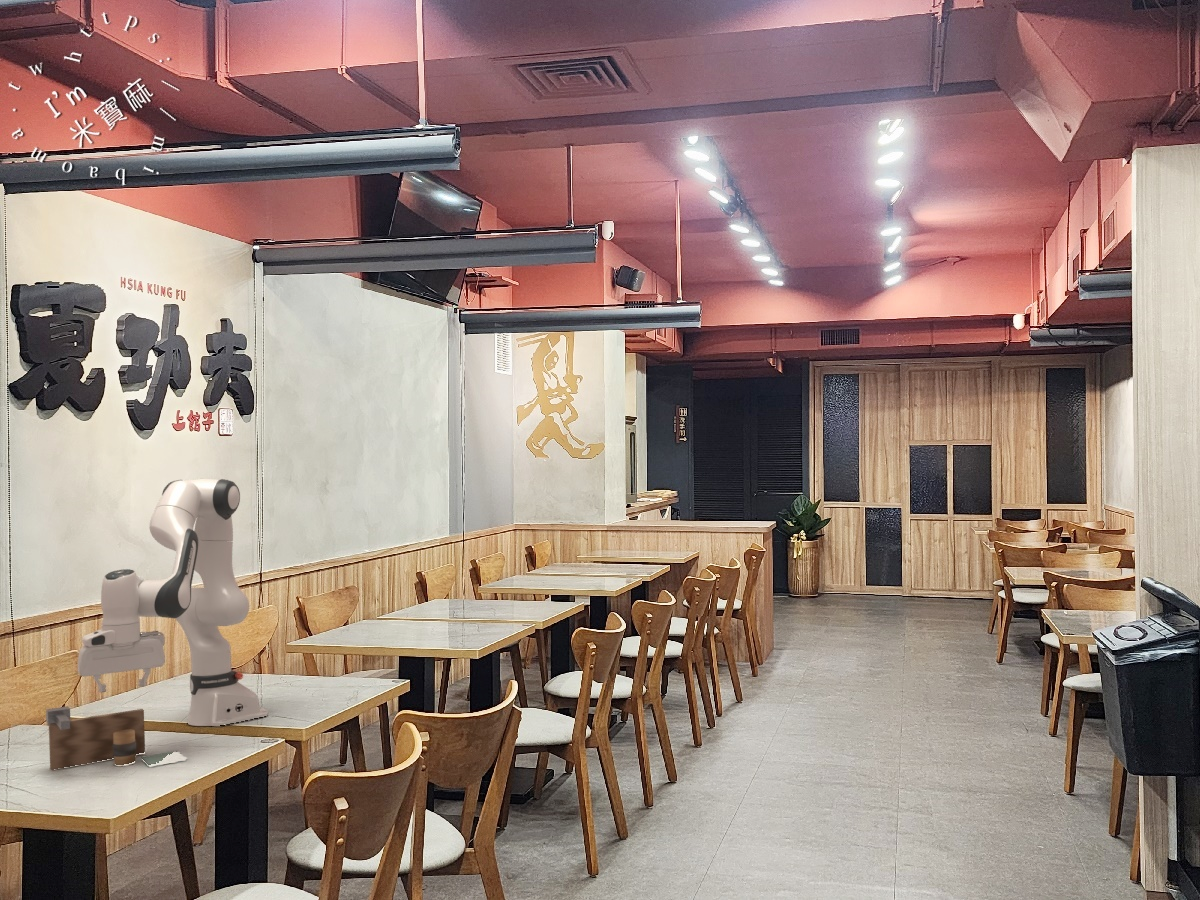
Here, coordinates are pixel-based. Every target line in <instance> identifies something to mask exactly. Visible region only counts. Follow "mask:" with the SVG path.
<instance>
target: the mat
mask: <svg viewBox="0 0 1200 900" xmlns="http://www.w3.org/2000/svg"><path fill="white" fill-rule="evenodd" d="M174 751H176V752H177V751H178V750H173V751H168V752H163V753H157V754H152V755H151V754H150V755H145V756H141V757H140V758H142V759H143V760H144V761H145V762H146V763H147V764H148V765H151V764H156V762H157V763H159V761H162V760H163V758H165V757H166V756H167V755H168V754H169V755H170V754H172V753H173V752H174Z"/></svg>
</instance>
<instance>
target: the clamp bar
mask: <svg viewBox="0 0 1200 900" xmlns="http://www.w3.org/2000/svg"><path fill="white" fill-rule="evenodd" d="M70 720H71V708H70V707H69V706H62V707H53V708H48V709H47V708H46V709H45V722H46V723H47V725H49V724H52V723H56V724H57V726H58V727H59V728H60V729H61V730H64V729H70Z"/></svg>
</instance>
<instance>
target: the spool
mask: <svg viewBox="0 0 1200 900" xmlns="http://www.w3.org/2000/svg"><path fill="white" fill-rule="evenodd" d="M113 756H114V760H113V765H114V764H116V765H124V764H129V763H132V762H134V761H136V760H137V759H136V757H137V756H136V740H135V730H120V731H116V732H114V733H113ZM136 762H137V761H136Z"/></svg>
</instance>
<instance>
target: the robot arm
mask: <svg viewBox="0 0 1200 900" xmlns="http://www.w3.org/2000/svg"><path fill="white" fill-rule="evenodd" d="M240 502H241V492H240V488H239V486H238V485H237V484H236V482H234V481H232V480H229V479H226V478H225V479H223V478H222V479H215V478H195V479H194V478H193V479H185V480H183V479H178V480H173V481H170V482H169V483H168V484H167V485H166V486H165V487H164V488H163V490H162V493H161V497H160V498H159V500H158V502H157V504H156V506H155V508H154V510H153V513H152V516H151V517H150V520H149V521H150V522H149V531H150V534H151V536H152V538H153V539H154V540H155V541H156V542H157V543H158V544H159V545H161V546H163V547H164V548H166V549H169V550H172V551H174V552H176V553H175V558H174V561H173V562H174V563H173V568H172V573H171V575H170V576H169V577H167V578H164V579H144V578H141V577H139V576H137V573H136V571H135V569H130V568H129V569H128V568H126V569H124V568H123V569H118V570H113V571H110V572H108V573H106V574H105V575H104V577H103V579H102V583H101V584H102V585H101V591H100V592H101V593H100V595H101V597H100V600H101V601H100V605H101V606H100V608H101V611H102V620H101V621H102V622H101V629H98V630H95V631H93V632H91V633H88V634H85V635H83V636H82V638H81V640H82V645H83V646H82V647H81V648H80V649H79V652H78V656H77V657H78V658H77V673H78V674H79V676H81V677H82V678H83V677H92V676H93V677H92V679H93V680H94V681H95V683H96V684H97V686H98V693H100V694H101V693H106V692H107V684H106V683H102V682H101V681H100V679H101V678H102V675H107V674H108V675H109V674H114V673H122V672H123V673H124V672H130V671H138V670H142V672H143V673H144V674H143V675H142V678H141V679H140V678H139V679H138V686H139V688H144V687H147V680H148V678H149V677H150V674H151V669H155V668H161V667H163V666H164V665H165V663H166V658H165V657H166V656H165V649H164V646H165V644H166V641H165V640H166V638H165V634H164V633H163V632H160V631H159V630H152V631H141V622H140V621H141V620H140V617H141V618H142V617H144V618H166V619H167V618H168V619H175V621H176V622H177V623H178V624H179V625H180V627H181V628H182V630H183V632H184V634H185V636H186V639H187V642H188V646H189V649H190V651H189V652H190V662H191V663H190V666H191V669H190V670H191V674H190V675H189V676H190V677H189V678H190V679H189V691H190V694H191V697H190V699H191V700H190V707H189V713H188V719H187V722H186V724H187V723H188V725H190V726H194V727H211V726H212V727H221V726H220V725H224V724H229V723H234V724H237V723H236V722H239V723H242V722H241V721H244V722H246V721H245V720H248V721H251V720H250V719H253V720H255V719H254V718H258V719H260V718H259V717H263V718H265V717H264V716H266V717H268V716H267V715H269V712H268V710H267V709H266V708H265V707H262V706H261V705H260V700H259V696H258V695H257V694H256V692H254V691H252V690H251V689H250V688H248V687H246V686H245V685H244V684H242V683H240V682H239V681H240V680H242V679H243V678H244V674H243V673H242V672H241V671H235V670H232V652H231V651H232V649H231V644H230V642H229V641H228V640H227V639H226V638H225V637H224V636H223V635H222V633H221V632H220V629H219V627H228V626H233V625H238V624H241V623H243V622H244V621H245V619H246V618H247V616H248V614H249V611H250V602H249V599H248V596H247V595H246V594H245V593H244V592H243V591H242V590H241V588H240V586H239V585H238V583H237V580H236V578H235V573H234V569H233V546H234V545H233V544H234V543H233V541H234V530H233V529H234V528H233V527H234V526H233V518H232V517H233V514H235V512H236V511H237V510H238V507H239V506H240ZM194 572H196V573H197V574H198V575H199V576H200V579H201V580H202V584H203V587H192V584H193V579H194V574H195V573H194Z"/></svg>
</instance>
